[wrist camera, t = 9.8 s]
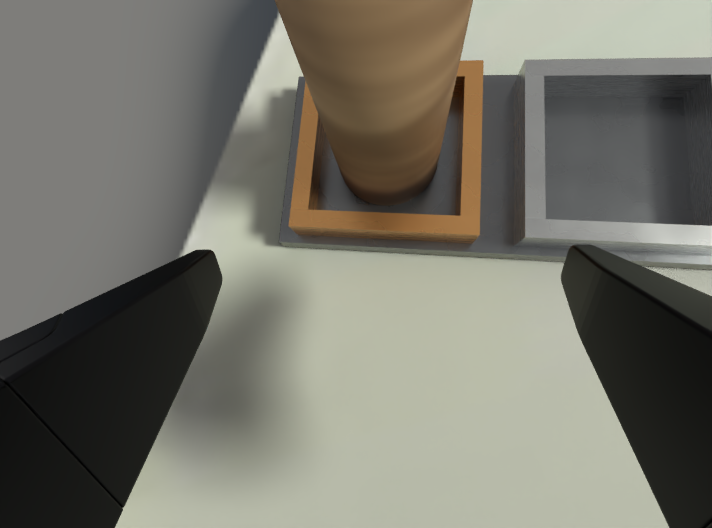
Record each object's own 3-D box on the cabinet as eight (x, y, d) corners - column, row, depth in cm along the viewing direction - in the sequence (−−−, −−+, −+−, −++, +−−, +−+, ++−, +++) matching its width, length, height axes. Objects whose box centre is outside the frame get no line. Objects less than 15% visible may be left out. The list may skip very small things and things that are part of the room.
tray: (704, 87, 18) (753, 48, 15) (721, 270, 16) (780, 259, 14) (303, 89, 20) (290, 55, 18) (285, 246, 19) (268, 233, 16)
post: (417, 219, 17) (462, -112, 4) (324, 187, 18) (135, -169, 5) (452, 129, 18) (583, -393, 5) (361, 103, 18) (272, -399, 6)
